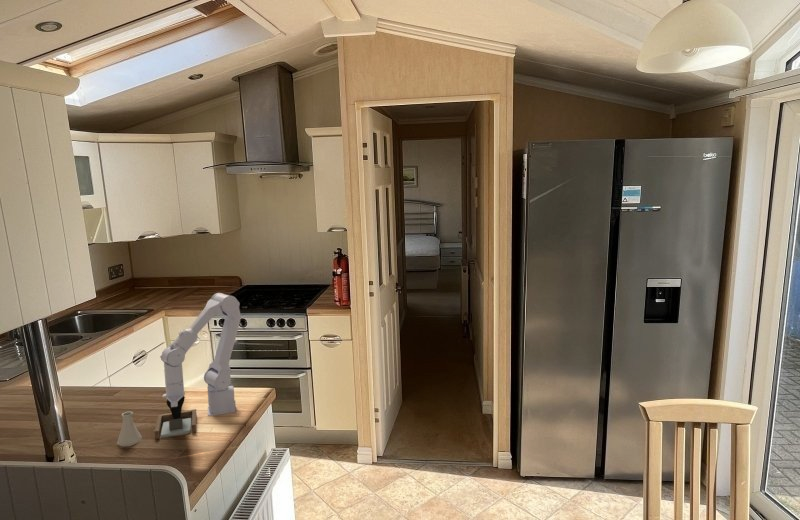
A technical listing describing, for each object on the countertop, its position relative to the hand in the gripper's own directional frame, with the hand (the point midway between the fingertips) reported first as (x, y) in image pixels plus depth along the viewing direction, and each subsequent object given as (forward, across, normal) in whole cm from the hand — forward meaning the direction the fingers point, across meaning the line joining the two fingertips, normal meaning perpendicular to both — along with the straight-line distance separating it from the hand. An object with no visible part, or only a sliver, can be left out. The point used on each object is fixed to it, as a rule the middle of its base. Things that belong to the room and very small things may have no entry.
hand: (177, 418), depth 174 cm
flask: (+3, +8, -14) cm, 16 cm away
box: (+2, +4, 0) cm, 4 cm away
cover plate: (+2, +4, 0) cm, 4 cm away
